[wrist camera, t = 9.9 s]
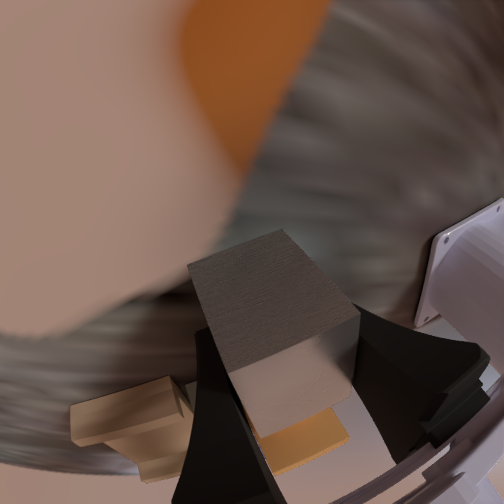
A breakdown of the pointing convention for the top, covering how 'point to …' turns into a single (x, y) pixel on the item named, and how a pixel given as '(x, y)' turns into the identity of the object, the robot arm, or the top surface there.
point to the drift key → (302, 441)
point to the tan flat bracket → (139, 426)
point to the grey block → (278, 329)
